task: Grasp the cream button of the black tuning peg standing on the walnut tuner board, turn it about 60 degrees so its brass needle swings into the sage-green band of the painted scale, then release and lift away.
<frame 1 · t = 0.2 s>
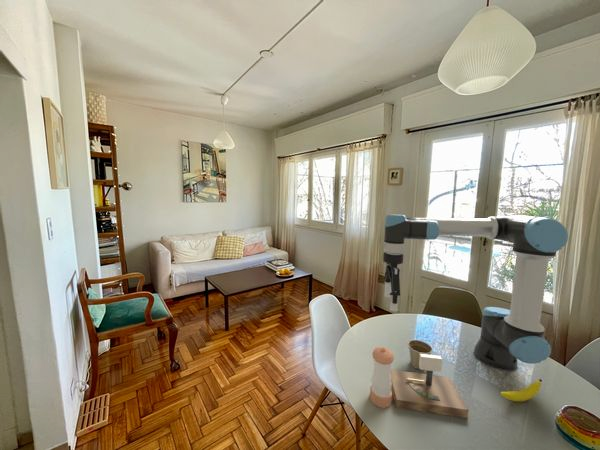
hand: (390, 303, 102), 28 cm above the table, fingers open, 13 cm apart
salt shaker: (380, 399, 87), on the table
flower pot: (418, 365, 106), on the table
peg: (423, 369, 90), point 9 cm above the table, hinge at 0.0°
tuner board: (423, 395, 89), on the table
banana: (519, 400, 88), on the table
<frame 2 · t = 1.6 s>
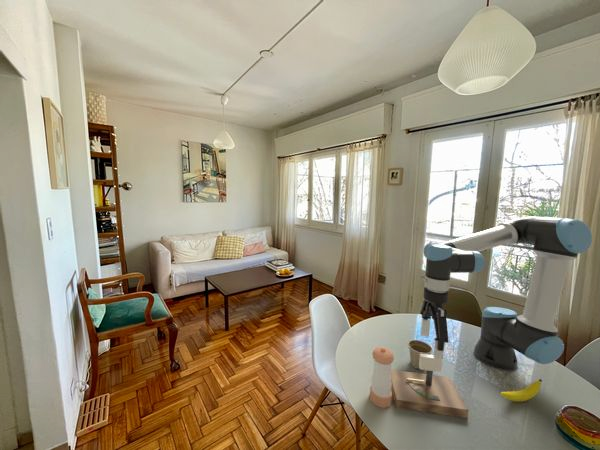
hand: (430, 346, 89), 18 cm above the table, fingers open, 13 cm apart
nothing on the table moved.
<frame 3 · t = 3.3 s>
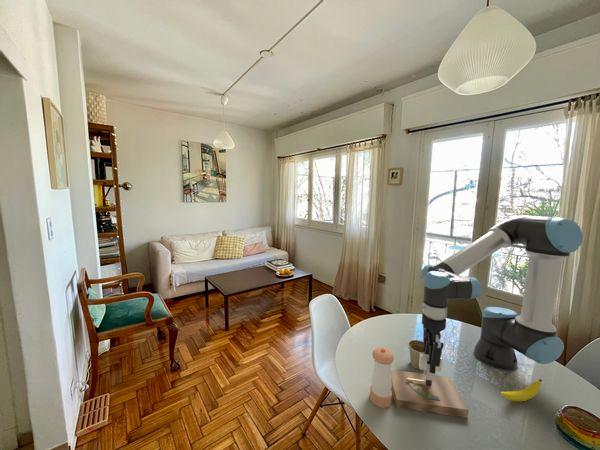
hand: (429, 376, 90), 6 cm above the table, fingers closed on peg, 2 cm apart
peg: (423, 369, 90), point 9 cm above the table, hinge at 0.0°, touching gripper
everything else where it was.
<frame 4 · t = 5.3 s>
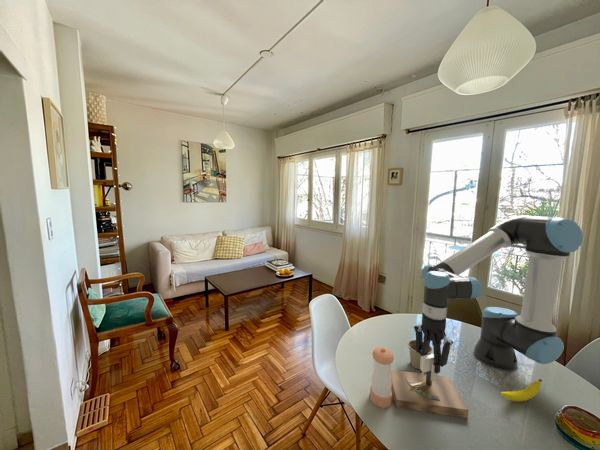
hand: (429, 376, 90), 6 cm above the table, fingers closed on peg, 3 cm apart
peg: (425, 371, 90), point 9 cm above the table, hinge at 24.8°, touching gripper
everything else where it was.
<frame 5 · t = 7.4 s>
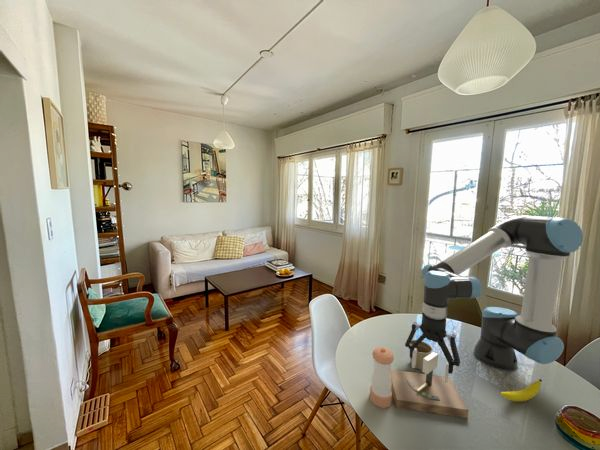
hand: (429, 372, 90), 7 cm above the table, fingers open, 10 cm apart
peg: (426, 372, 89), point 9 cm above the table, hinge at 44.8°
everything else where it was.
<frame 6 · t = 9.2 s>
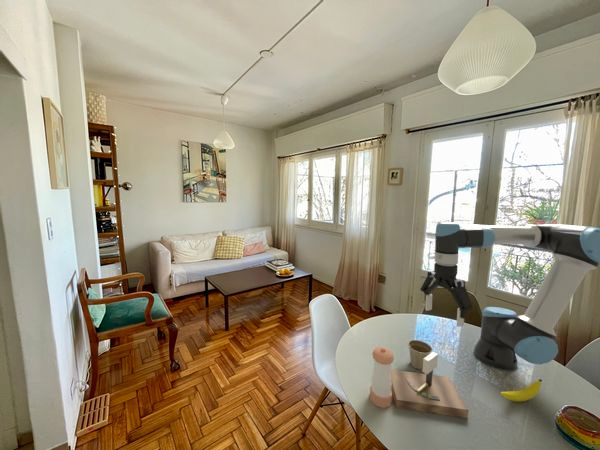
hand: (443, 317, 95), 25 cm above the table, fingers open, 13 cm apart
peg: (426, 372, 89), point 9 cm above the table, hinge at 45.7°
everything else where it was.
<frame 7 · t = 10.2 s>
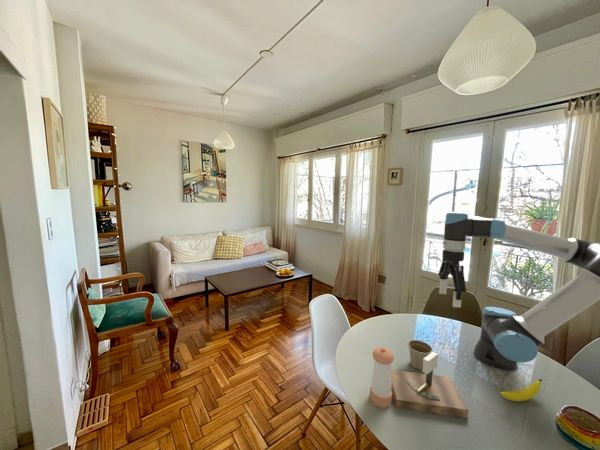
hand: (449, 299, 103), 29 cm above the table, fingers open, 13 cm apart
nothing on the table moved.
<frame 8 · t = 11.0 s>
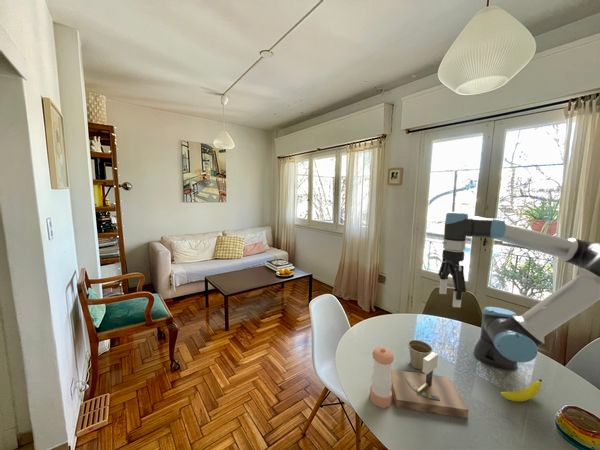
hand: (449, 299, 103), 29 cm above the table, fingers open, 13 cm apart
nothing on the table moved.
at the end: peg at +46° (first picture: +0°); the gripper is holding nothing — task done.
